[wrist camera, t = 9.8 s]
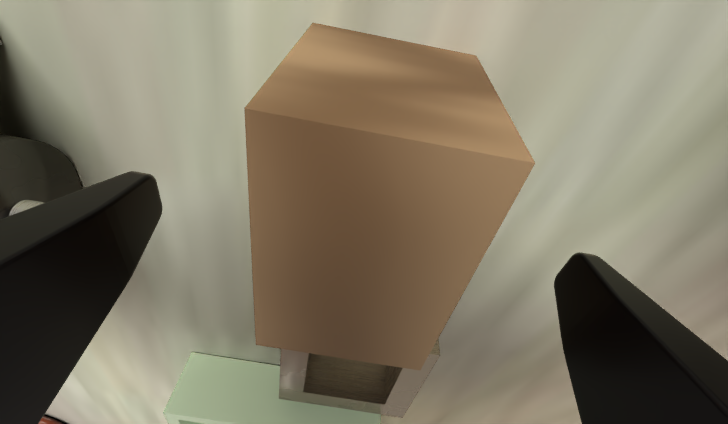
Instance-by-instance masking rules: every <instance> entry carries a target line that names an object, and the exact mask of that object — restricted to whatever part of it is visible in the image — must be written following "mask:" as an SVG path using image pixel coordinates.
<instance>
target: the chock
mask: <svg viewBox="0 0 728 424" xmlns="http://www.w3.org/2000/svg"><path fill="white" fill-rule="evenodd" d="M245 127H246V148H247V169H248V190H249V211H250V232H251V253H252V274H253V295H254V316H255V337H256V345H261V346H267V347H273V348H280V349H286V350H293V351H299V352H305V353H312V354H318V355H324V356H331V357H337V358H343V359H350V360H356V361H362V362H369V363H375V364H382V365H388V366H394V367H401V368H407V369H413V370H421V368H422V366H423V365H424V363H425V361H426V359H427V357H428V356H429V354H430V352H431V350H432V348H433V346H434V345H435V343H436V341H437V339H438V337H439V336H440V334H441V332H442V330H443V328H444V327H445V325H446V323H447V321H448V319H449V318H450V316H451V314H452V312H453V310H454V309H455V307H456V305H457V303H458V301H459V300H460V298H461V296H462V294H463V292H464V291H465V289H466V287H467V285H468V283H469V282H470V280H471V278H472V276H473V274H474V273H475V271H476V269H477V267H478V265H479V263H480V262H481V260H482V258H483V256H484V254H485V253H486V251H487V249H488V247H489V245H490V244H491V242H492V240H493V238H494V236H495V235H496V233H497V231H498V229H499V227H500V226H501V224H502V222H503V220H504V218H505V217H506V215H507V213H508V211H509V209H510V208H511V206H512V204H513V202H514V200H515V199H516V197H517V195H518V193H519V191H520V190H521V188H522V186H523V184H524V182H525V180H526V179H527V177H528V175H529V173H530V171H531V170H532V168H533V166H534V164H535V162H534V160H533V158H532V156H531V155H530V153H529V151H528V149H527V147H526V146H525V144H524V142H523V140H522V138H521V136H520V135H519V133H518V131H517V129H516V127H515V125H514V124H513V122H512V120H511V118H510V116H509V114H508V113H507V111H506V109H505V107H504V105H503V104H502V102H501V100H500V98H499V96H498V94H497V93H496V91H495V89H494V87H493V85H492V83H491V82H490V80H489V78H488V76H487V74H486V73H485V71H484V69H483V67H482V65H481V63H480V62H479V60H478V58H477V56H475V55H470V54H465V53H460V52H455V51H450V50H445V49H440V48H435V47H430V46H425V45H420V44H415V43H410V42H405V41H401V40H396V39H391V38H386V37H381V36H376V35H371V34H366V33H361V32H356V31H351V30H346V29H341V28H336V27H331V26H326V25H321V24H316V23H312V24H311V26H310V27H309V28H308V30H307V31H306V32H305V33H304V35H303V36H302V37H301V38H300V40H299V41H298V42H297V43H296V45H295V46H294V47H293V48H292V50H291V51H290V52H289V53H288V55H287V56H286V57H285V58H284V60H283V61H282V62H281V63H280V65H279V66H278V67H277V68H276V70H275V71H274V72H273V73H272V75H271V76H270V77H269V78H268V80H267V81H266V82H265V83H264V85H263V86H262V87H261V88H260V90H259V91H258V92H257V93H256V95H255V96H254V97H253V98H252V100H251V101H250V102H249V103H248V105H247V106H246V107H245Z"/></svg>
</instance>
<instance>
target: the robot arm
mask: <svg viewBox="0 0 728 424" xmlns="http://www.w3.org/2000/svg"><path fill="white" fill-rule="evenodd" d="M161 214H162V203H161V199H160V195H159V190H158V186H157V182H156V179H155V178H154V177H153V176H152V175H150V174H146V173H140V172H134V171H131V172H127V173H124V174H122V175H119V176H116V177H114V178H111V179H108V180H105V181H103V182H100V183H97V184H95V185H92V186H89V187H87V188H84V189H81V190H78V191H76V192H73V193H70V194H68V195H65V196H62V197H59V198H57V199H54V200H51V201H49V202H46V203H43V204H40V205H38V206H35V207H32V208H30V209H27V210H24V211H22V212H19V213H16V214H13V215H11V216H8V217H5V218H3V219H0V424H38V423H39V422H40V420H41V419H42V417H43V416H44V414H45V412H46V411H47V409H48V408H49V406H50V405H51V403H52V401H53V400H54V398H55V397H56V395H57V394H58V392H59V390H60V389H61V387H62V386H63V384H64V383H65V381H66V379H67V378H68V376H69V375H70V373H71V372H72V370H73V368H74V367H75V365H76V364H77V362H78V361H79V359H80V357H81V356H82V354H83V353H84V351H85V350H86V348H87V346H88V345H89V343H90V342H91V340H92V338H93V337H94V335H95V334H96V332H97V331H98V329H99V327H100V326H101V324H102V323H103V321H104V320H105V318H106V316H107V315H108V313H109V312H110V310H111V309H112V307H113V305H114V304H115V302H116V301H117V299H118V298H119V296H120V294H121V293H122V291H123V290H124V288H125V286H126V285H127V283H128V281H129V280H130V278H131V276H132V274H133V272H134V271H135V269H136V267H137V265H138V263H139V260H140V258H141V256H142V254H143V252H144V250H145V248H146V246H147V244H148V242H149V240H150V238H151V236H152V234H153V231H154V229H155V227H156V225H157V223H158V221H159V219H160V217H161ZM554 289H555V296H556V303H557V310H558V317H559V324H560V331H561V338H562V344H563V350H564V354H565V359H566V363H567V367H568V371H569V375H570V379H571V383H572V387H573V390H574V394H575V398H576V402H577V406H578V410H579V414H580V418H581V422H582V424H728V361H727V360H726V359H725V358H724V357H722V356H721V355H720V354H719V353H717V352H716V351H715V350H714V349H712V348H711V347H710V346H709V345H707V344H706V343H705V342H704V341H703V340H701V339H700V338H699V337H698V336H696V335H695V334H694V333H693V332H691V331H690V330H689V329H688V328H686V327H685V326H684V325H683V324H681V323H680V322H679V321H678V320H676V319H675V318H674V317H673V316H672V315H670V314H669V313H668V312H667V311H665V310H664V309H663V308H662V307H660V306H659V305H658V304H657V303H655V302H654V301H653V300H652V299H650V298H649V297H648V296H647V295H646V294H644V293H643V292H642V291H641V290H639V289H638V288H637V287H636V286H634V285H633V284H632V283H631V282H629V281H628V280H627V279H626V278H624V277H623V276H622V275H621V274H619V273H618V272H617V271H616V270H615V269H613V268H612V267H611V266H610V265H608V264H607V263H606V262H605V261H603V260H602V259H601V258H600V257H598V256H596V255H592V254H586V253H576V254H574V255H573V256H572V257H571V258H570V259H569V260H568V262H567V263H566V264H565V265H564V267H563V268H562V269H561V270H560V272H559V273H558V274H557V276H556V278H555V282H554Z"/></svg>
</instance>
